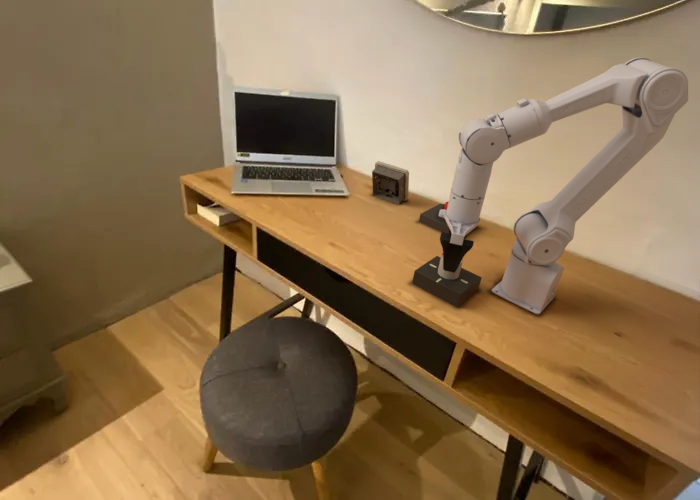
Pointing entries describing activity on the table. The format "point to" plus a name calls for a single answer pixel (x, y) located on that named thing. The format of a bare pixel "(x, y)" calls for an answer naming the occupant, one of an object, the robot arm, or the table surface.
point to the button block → (436, 219)
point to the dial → (446, 273)
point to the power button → (446, 205)
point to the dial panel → (446, 283)
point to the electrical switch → (390, 182)
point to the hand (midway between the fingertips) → (451, 260)
